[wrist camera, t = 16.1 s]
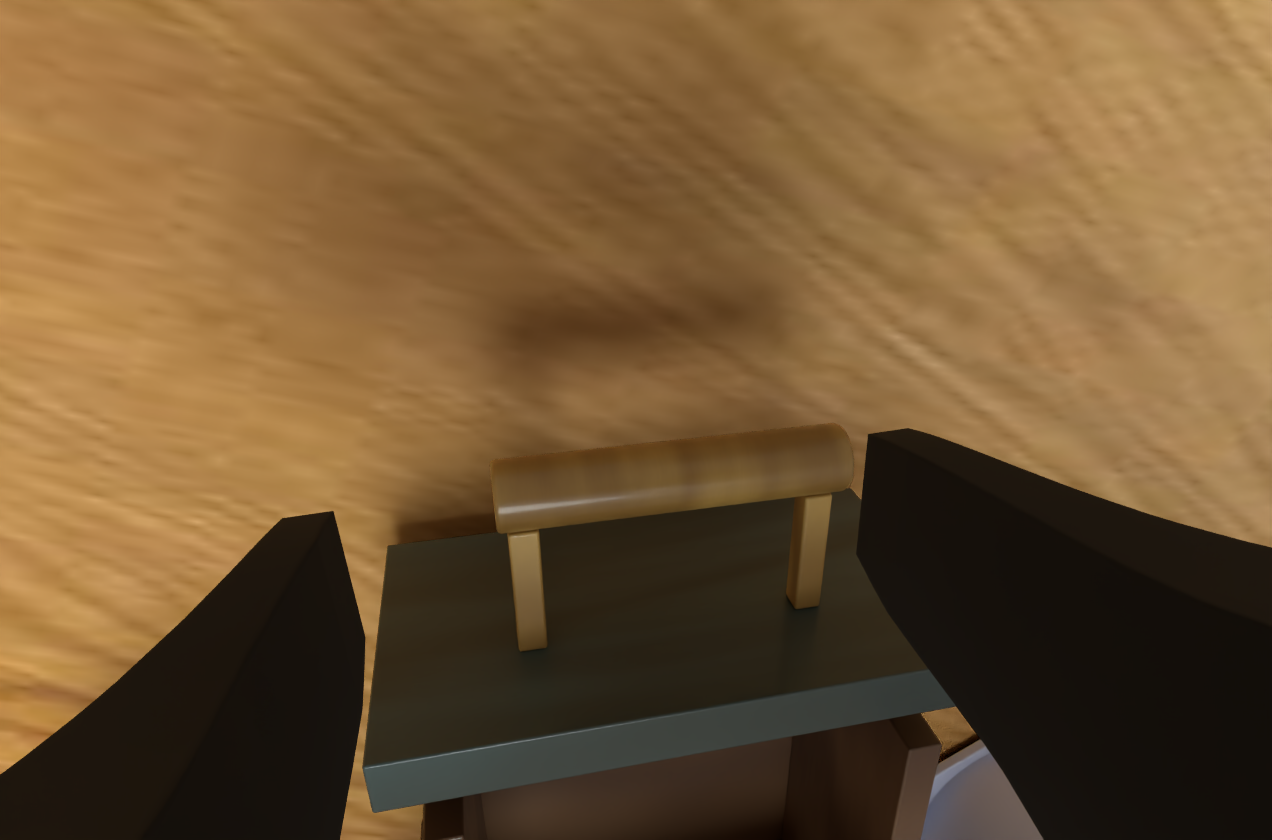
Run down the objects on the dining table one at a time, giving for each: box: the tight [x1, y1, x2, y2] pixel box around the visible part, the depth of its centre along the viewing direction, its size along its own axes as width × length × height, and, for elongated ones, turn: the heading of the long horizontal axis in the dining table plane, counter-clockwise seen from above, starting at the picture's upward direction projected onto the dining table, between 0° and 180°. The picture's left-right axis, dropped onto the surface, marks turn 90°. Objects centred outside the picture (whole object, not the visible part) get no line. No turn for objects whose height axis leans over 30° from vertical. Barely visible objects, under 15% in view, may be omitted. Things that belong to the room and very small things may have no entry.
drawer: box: [362, 423, 956, 840], centre depth 20 cm, size 18×12×7 cm
